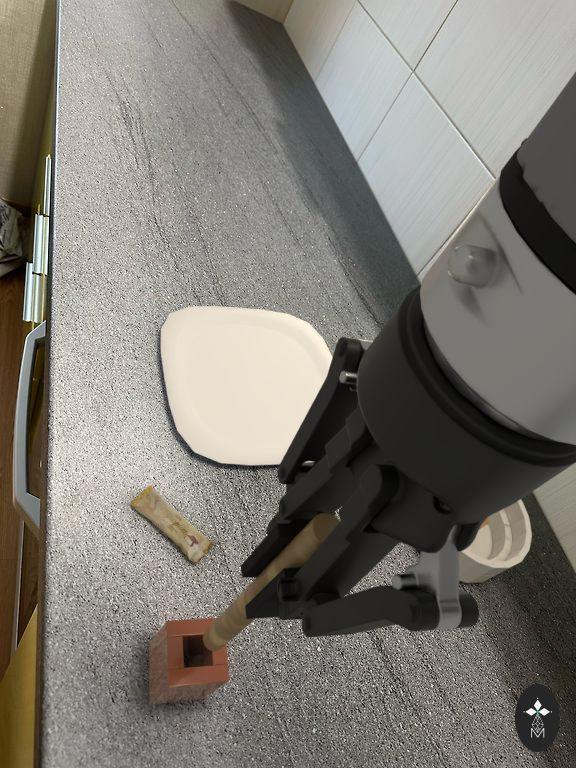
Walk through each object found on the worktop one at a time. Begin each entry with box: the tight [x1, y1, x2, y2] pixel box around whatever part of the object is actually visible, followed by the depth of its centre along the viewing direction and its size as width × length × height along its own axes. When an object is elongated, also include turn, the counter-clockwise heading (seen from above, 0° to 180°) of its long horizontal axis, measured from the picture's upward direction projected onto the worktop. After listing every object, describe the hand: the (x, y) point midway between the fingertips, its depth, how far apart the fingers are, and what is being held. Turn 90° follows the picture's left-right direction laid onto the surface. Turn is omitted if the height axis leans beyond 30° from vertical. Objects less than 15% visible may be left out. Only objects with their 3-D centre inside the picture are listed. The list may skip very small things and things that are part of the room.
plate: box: [160, 305, 333, 467], centre depth 76 cm, size 25×25×2 cm
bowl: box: [459, 499, 533, 584], centre depth 73 cm, size 15×15×6 cm
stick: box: [203, 513, 340, 651], centre depth 36 cm, size 2×2×21 cm
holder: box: [148, 617, 230, 706], centre depth 50 cm, size 5×5×8 cm
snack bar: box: [130, 485, 215, 565], centre depth 60 cm, size 10×2×3 cm
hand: (264, 590), depth 35 cm, fingers closed on stick, 2 cm apart
